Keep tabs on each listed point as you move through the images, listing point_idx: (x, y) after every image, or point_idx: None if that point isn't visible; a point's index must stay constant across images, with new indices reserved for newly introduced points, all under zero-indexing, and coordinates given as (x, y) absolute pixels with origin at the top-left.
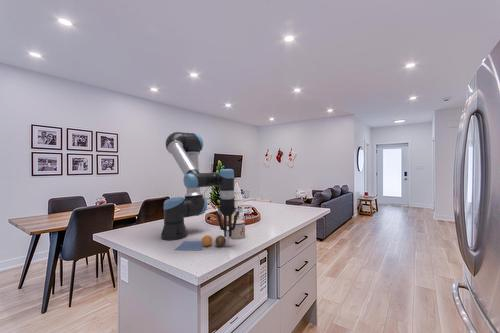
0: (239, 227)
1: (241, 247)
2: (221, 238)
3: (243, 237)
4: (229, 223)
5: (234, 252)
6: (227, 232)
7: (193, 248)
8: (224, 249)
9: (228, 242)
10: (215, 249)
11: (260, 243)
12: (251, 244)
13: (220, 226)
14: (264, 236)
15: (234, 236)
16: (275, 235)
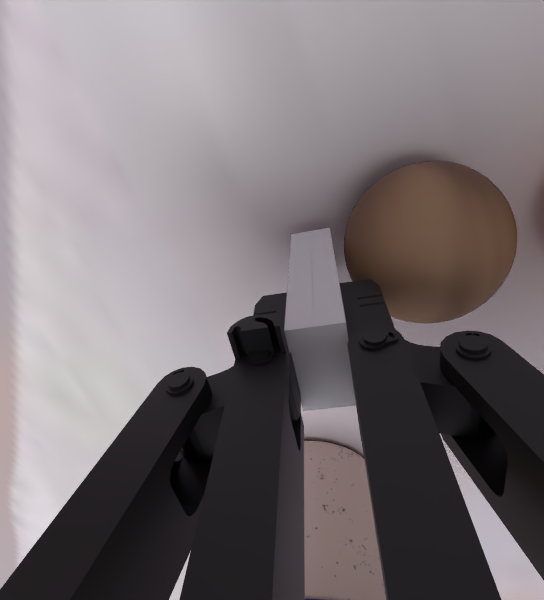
0: None
1: (137, 229)
2: (407, 216)
3: None
4: (248, 493)
5: (126, 14)
6: (312, 314)
7: None
8: (314, 106)
9: (297, 238)
10: (447, 72)
11: (24, 370)
12: (87, 333)
13: (532, 385)
14: None
15: (321, 458)
16: (31, 529)
